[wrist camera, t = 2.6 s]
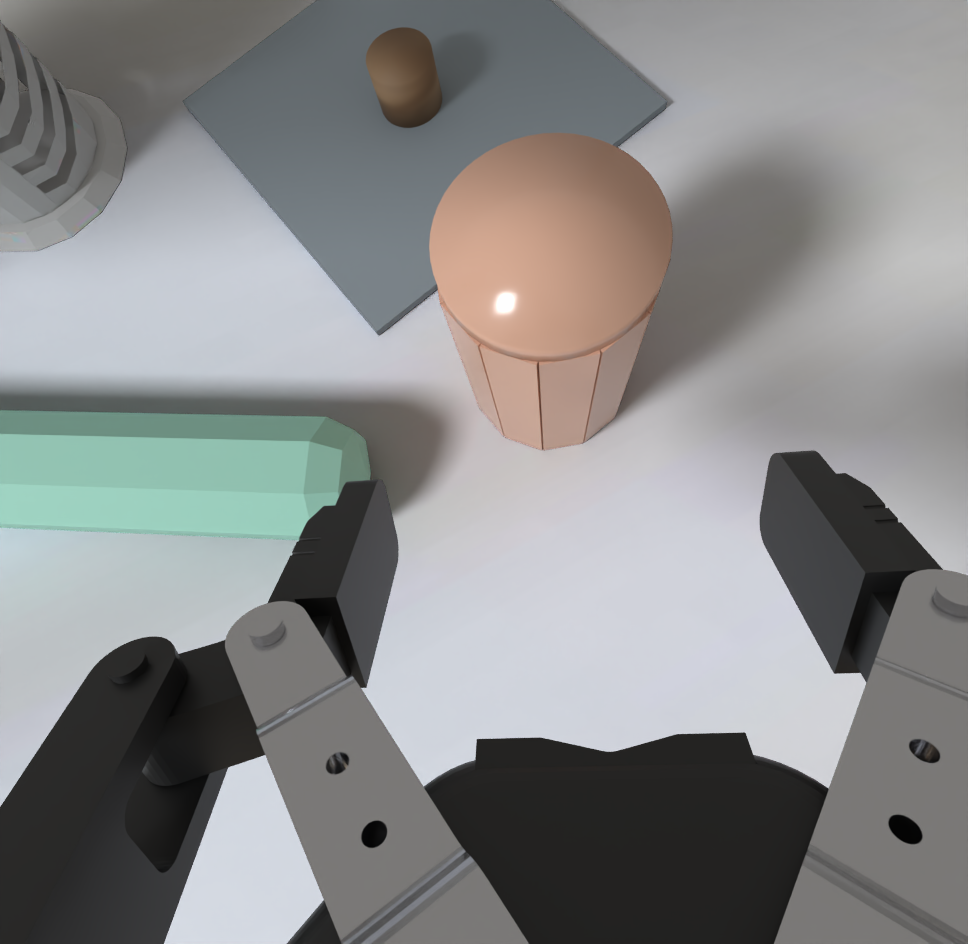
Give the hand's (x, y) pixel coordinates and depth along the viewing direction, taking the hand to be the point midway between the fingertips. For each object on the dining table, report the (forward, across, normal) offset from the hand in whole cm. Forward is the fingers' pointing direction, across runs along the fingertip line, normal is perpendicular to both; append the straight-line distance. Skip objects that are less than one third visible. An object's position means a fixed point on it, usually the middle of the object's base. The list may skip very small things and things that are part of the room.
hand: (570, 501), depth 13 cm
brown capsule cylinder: (+24, +6, -7) cm, 25 cm away
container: (+11, +20, +6) cm, 23 cm away
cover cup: (+13, 0, +3) cm, 14 cm away
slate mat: (+24, +6, -7) cm, 25 cm away
